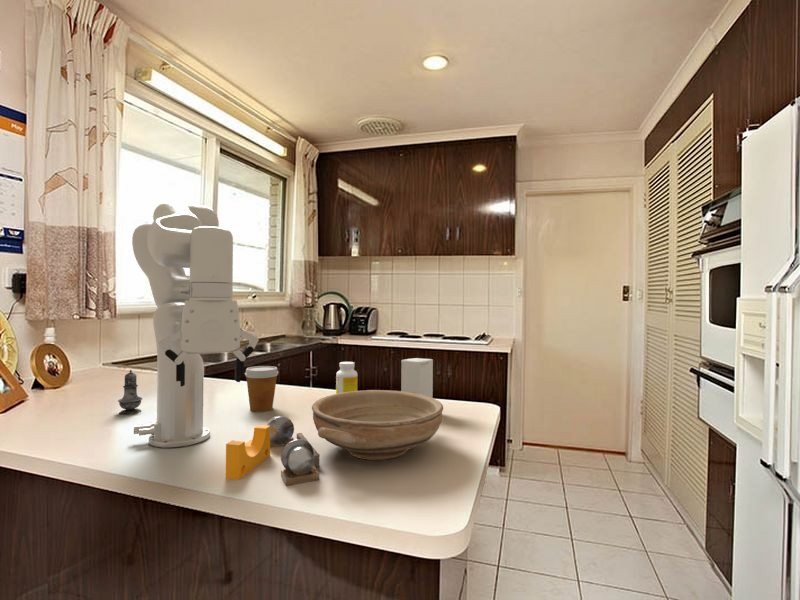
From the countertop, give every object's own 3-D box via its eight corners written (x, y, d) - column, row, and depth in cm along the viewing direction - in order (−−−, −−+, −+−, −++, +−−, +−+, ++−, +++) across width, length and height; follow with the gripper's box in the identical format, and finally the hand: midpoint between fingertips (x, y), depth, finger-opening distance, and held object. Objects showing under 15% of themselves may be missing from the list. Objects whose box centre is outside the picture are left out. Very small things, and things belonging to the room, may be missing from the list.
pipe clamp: (250, 455, 90) (251, 424, 90) (270, 456, 89) (270, 425, 89) (216, 478, 78) (217, 443, 78) (238, 480, 78) (239, 445, 78)
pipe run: (285, 485, 75) (286, 449, 75) (263, 441, 98) (263, 413, 98) (327, 478, 79) (327, 443, 79) (295, 436, 102) (296, 409, 101)
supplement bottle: (361, 403, 135) (362, 362, 135) (348, 407, 129) (348, 365, 129) (345, 400, 138) (345, 360, 138) (331, 404, 133) (331, 363, 133)
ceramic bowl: (367, 419, 117) (368, 382, 117) (467, 435, 104) (467, 394, 104) (267, 464, 85) (268, 414, 85) (395, 498, 71) (396, 438, 71)
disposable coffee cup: (259, 415, 120) (259, 372, 120) (237, 410, 125) (237, 368, 125) (285, 407, 128) (285, 367, 128) (263, 403, 133) (263, 364, 133)
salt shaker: (112, 413, 119) (113, 370, 119) (132, 408, 125) (133, 367, 125) (127, 415, 117) (127, 372, 117) (147, 410, 123) (147, 368, 122)
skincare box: (418, 418, 119) (419, 362, 119) (398, 414, 123) (399, 359, 123) (433, 411, 126) (434, 358, 126) (414, 408, 130) (415, 356, 129)
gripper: (158, 291, 74) (157, 390, 74) (261, 293, 82) (261, 382, 82) (160, 292, 81) (159, 383, 81) (255, 293, 89) (255, 376, 89)
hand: (210, 383), depth 81 cm, fingers open, 9 cm apart
